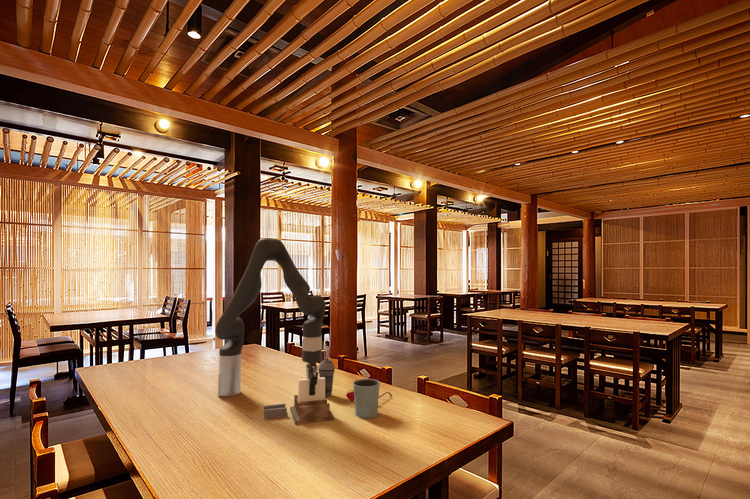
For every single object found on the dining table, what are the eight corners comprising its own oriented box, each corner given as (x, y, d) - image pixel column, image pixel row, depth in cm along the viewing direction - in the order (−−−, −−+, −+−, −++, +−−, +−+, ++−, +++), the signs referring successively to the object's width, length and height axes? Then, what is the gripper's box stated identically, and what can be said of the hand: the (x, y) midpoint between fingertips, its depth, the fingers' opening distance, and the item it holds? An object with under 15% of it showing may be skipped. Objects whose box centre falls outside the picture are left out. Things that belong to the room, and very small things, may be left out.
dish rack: (295, 424, 138) (295, 408, 138) (290, 409, 152) (290, 395, 153) (333, 419, 143) (334, 404, 143) (325, 405, 157) (325, 391, 157)
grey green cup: (382, 411, 151) (383, 380, 152) (374, 420, 142) (374, 387, 142) (358, 408, 155) (358, 377, 155) (348, 417, 145) (349, 384, 146)
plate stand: (264, 418, 143) (264, 410, 143) (263, 413, 148) (263, 405, 148) (286, 416, 146) (286, 408, 146) (285, 411, 151) (285, 403, 151)
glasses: (345, 401, 163) (345, 389, 164) (364, 390, 178) (364, 379, 178) (374, 407, 157) (374, 394, 157) (391, 395, 171) (392, 384, 172)
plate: (298, 407, 145) (298, 380, 146) (297, 406, 147) (298, 379, 148) (324, 405, 148) (325, 378, 149) (323, 403, 150) (324, 377, 151)
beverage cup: (331, 398, 165) (332, 351, 166) (315, 397, 167) (316, 350, 168) (336, 393, 172) (337, 348, 173) (321, 392, 174) (321, 347, 175)
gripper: (299, 345, 154) (299, 389, 153) (305, 352, 141) (304, 401, 140) (318, 344, 156) (317, 387, 156) (325, 351, 143) (324, 398, 143)
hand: (311, 393), depth 148 cm, fingers closed on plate, 2 cm apart
